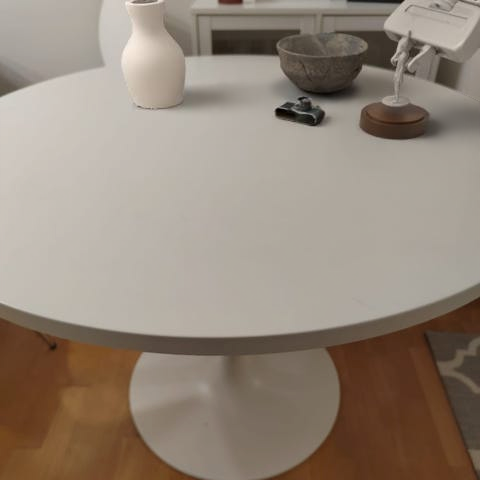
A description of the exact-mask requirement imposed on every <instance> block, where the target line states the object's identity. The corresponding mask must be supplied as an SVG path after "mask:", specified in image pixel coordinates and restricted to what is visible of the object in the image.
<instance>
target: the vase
mask: <svg viewBox="0 0 480 480" xmlns="http://www.w3.org/2000/svg"><path fill="white" fill-rule="evenodd" d="M124 5H125V9H126V13H127V15H128V17H129V19H130V21H131V26H132V32H131V35H130V37H129V40H127V43H126V45H125V46H124V48H123V51H122V55H121V62H120V64H121V66H120V67H121V71H122V75H123V78H124V80H125V83H126V85H127V88H128V90H129V93H130V95H131V99H132V103H133V102H134V103H135V104H136V105H139V106H141V107H145V108H151V109H150V110H158V109H157V108H163V109H168V108H172V106H173V107H175V106H178V105H180V104H182V103H183V102H184V101H185V83H186V71H187V68H186V67H187V65H186V58H185V54H184V51H183V50H182V48H181V46H180V45H179V44H178V42H177V41H176V40H175V39H174V38H173V37H172V36H171V35H170V33H169V32H168V31H167V29H166V27H165V23H164V16H165V9H166V2H165V0H126V1H125V2H124ZM134 103H133V104H134ZM179 103H180V104H179ZM135 104H134V105H135ZM177 104H178V105H177ZM136 105H135V106H136ZM141 107H140V108H141ZM145 108H144V109H145ZM152 108H153V109H152Z"/></svg>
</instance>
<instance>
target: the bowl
mask: <svg viewBox="0 0 480 480" xmlns="http://www.w3.org/2000/svg"><path fill="white" fill-rule="evenodd" d="M275 47H276V50H277V53H278V55H279V61H280V62H279V65H280V67H279V68H280V69H281V71H282V73H283V74H284V75H285V77H286V78H287V79H288V80H289V81H290V82H291V83H292V84H293V85H295V86H296V87H298V88H299V89H301V90H305V91H308V92H312V93H319V94H321V93H323V94H327V93H328V94H329V93H335V92H337V91H340V90H343V89H345V88H347V87H349V85H350V84H351V83H353V82H354V81H355V80H356V78H357V77H358V76H359V75H360V72H362V70H363V62H364V59H365V57H366V54H367V52H368V50H369V44H368V42H367V41H366V40H364V39H362V38H361V37H359V36H356V35H352V34H345V33H339V32H331V31H330V32H322V33H314V34H313V33H297V34H293V35H289V36H285V37H283V38H281V39H279V40H278V41H277V43H276V46H275Z"/></svg>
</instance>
